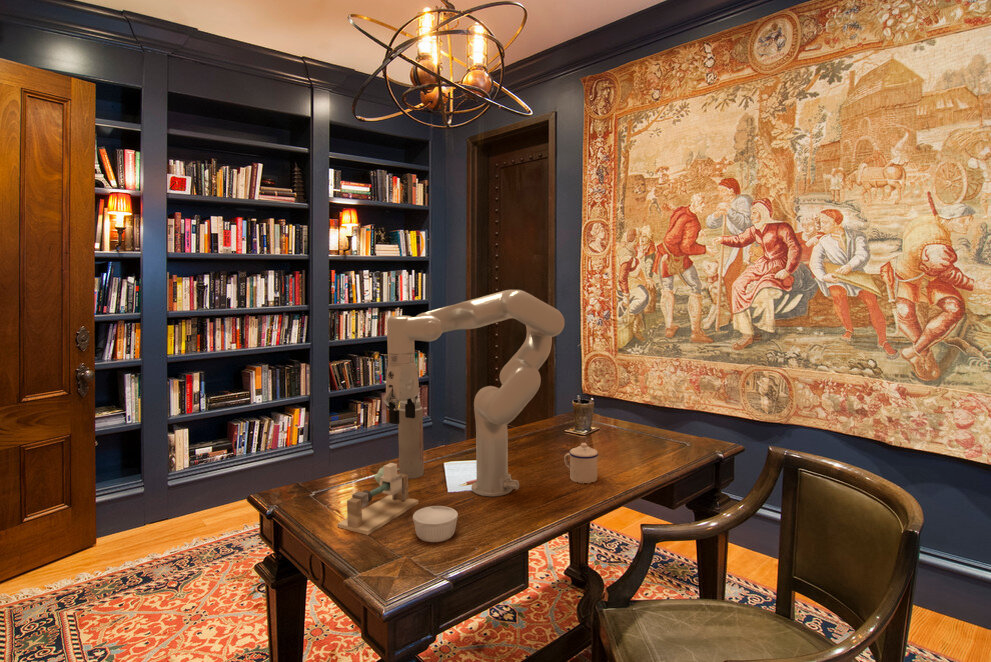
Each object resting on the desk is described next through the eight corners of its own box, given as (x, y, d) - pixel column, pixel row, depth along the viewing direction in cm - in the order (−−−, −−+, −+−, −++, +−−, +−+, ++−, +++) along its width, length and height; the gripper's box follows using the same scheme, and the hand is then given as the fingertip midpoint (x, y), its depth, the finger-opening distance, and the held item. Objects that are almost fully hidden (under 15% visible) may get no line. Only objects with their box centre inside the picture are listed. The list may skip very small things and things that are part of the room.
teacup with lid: (603, 478, 175) (603, 443, 174) (587, 486, 169) (587, 449, 168) (572, 470, 184) (573, 436, 183) (556, 477, 177) (556, 442, 176)
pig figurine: (377, 494, 164) (377, 472, 163) (369, 490, 167) (369, 468, 166) (399, 486, 170) (398, 465, 169) (391, 483, 172) (391, 462, 172)
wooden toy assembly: (390, 497, 161) (389, 469, 160) (418, 503, 156) (417, 474, 156) (337, 527, 141) (336, 495, 141) (367, 535, 137) (366, 501, 136)
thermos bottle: (426, 471, 184) (425, 388, 181) (418, 479, 176) (417, 393, 173) (404, 469, 185) (402, 388, 183) (395, 477, 177) (393, 392, 175)
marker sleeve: (388, 487, 156) (388, 461, 155) (402, 490, 154) (401, 464, 153) (379, 492, 152) (379, 465, 152) (393, 495, 150) (392, 468, 149)
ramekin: (462, 526, 142) (462, 506, 141) (452, 546, 131) (451, 525, 130) (420, 523, 144) (420, 504, 143) (407, 543, 133) (406, 522, 132)
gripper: (392, 363, 146) (394, 429, 147) (429, 356, 161) (430, 415, 163) (370, 362, 149) (372, 426, 151) (408, 354, 165) (409, 413, 166)
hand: (402, 420), depth 157 cm, fingers open, 6 cm apart
